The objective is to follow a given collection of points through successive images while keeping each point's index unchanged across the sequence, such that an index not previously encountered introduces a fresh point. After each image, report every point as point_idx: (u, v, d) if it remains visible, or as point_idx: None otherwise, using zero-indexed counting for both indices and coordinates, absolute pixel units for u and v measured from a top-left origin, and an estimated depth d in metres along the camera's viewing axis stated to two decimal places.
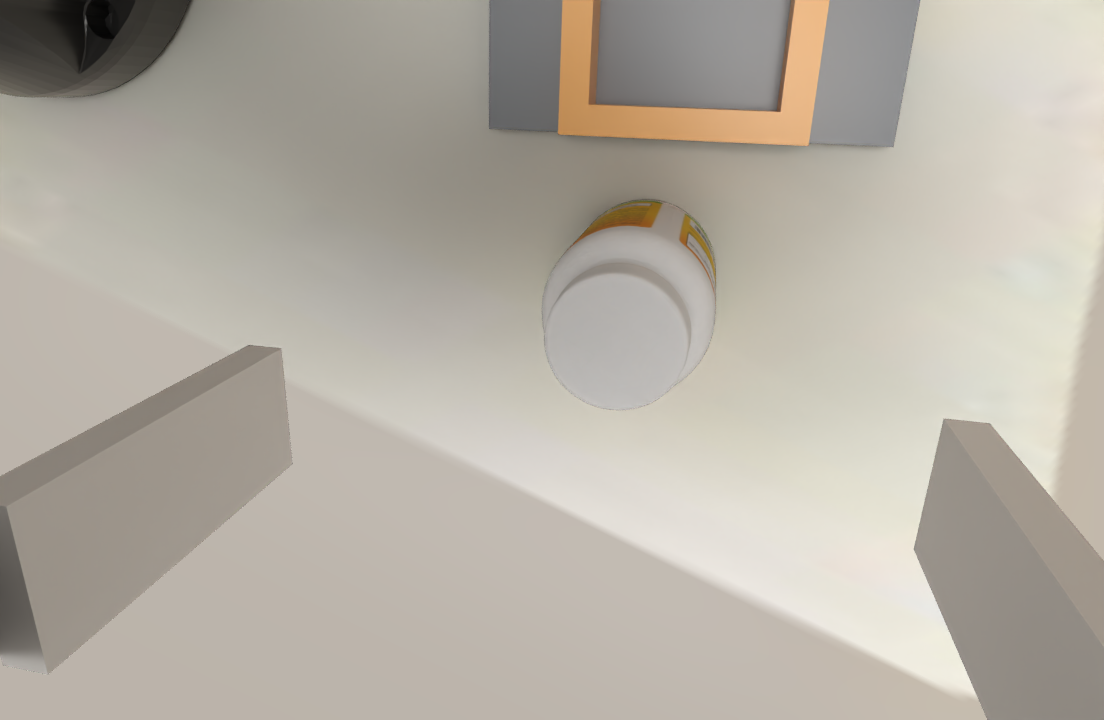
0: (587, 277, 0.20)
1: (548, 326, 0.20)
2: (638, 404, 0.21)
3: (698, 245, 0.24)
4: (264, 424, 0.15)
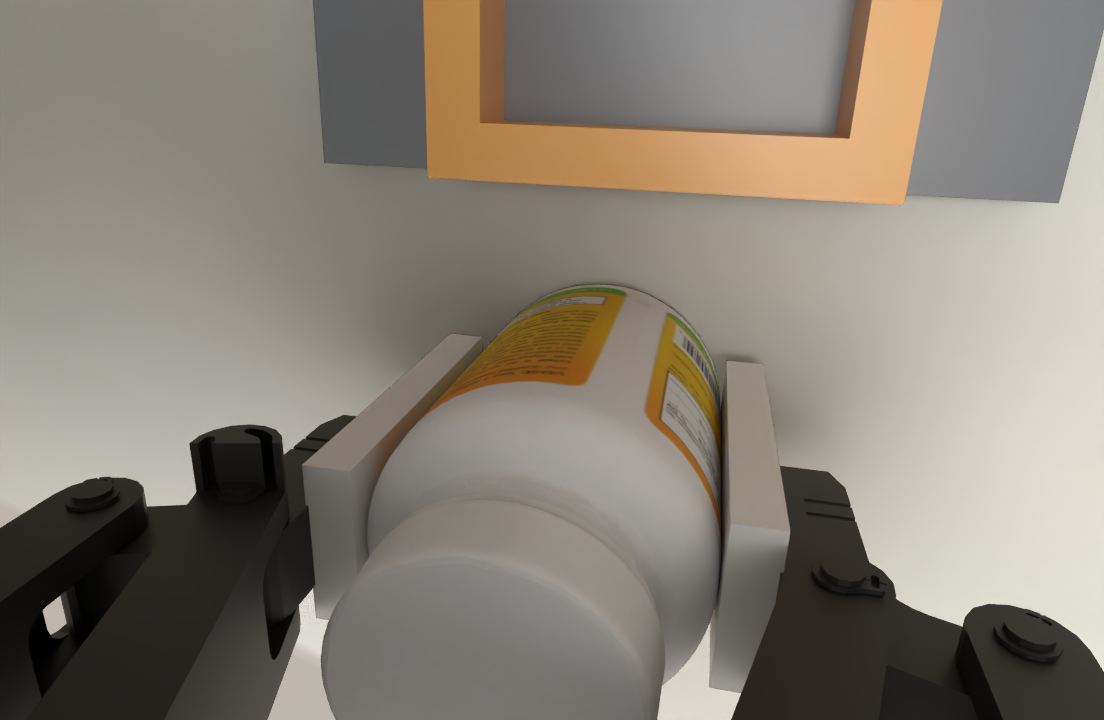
0: (406, 555, 0.08)
1: (326, 653, 0.09)
2: None
3: (687, 398, 0.12)
4: None
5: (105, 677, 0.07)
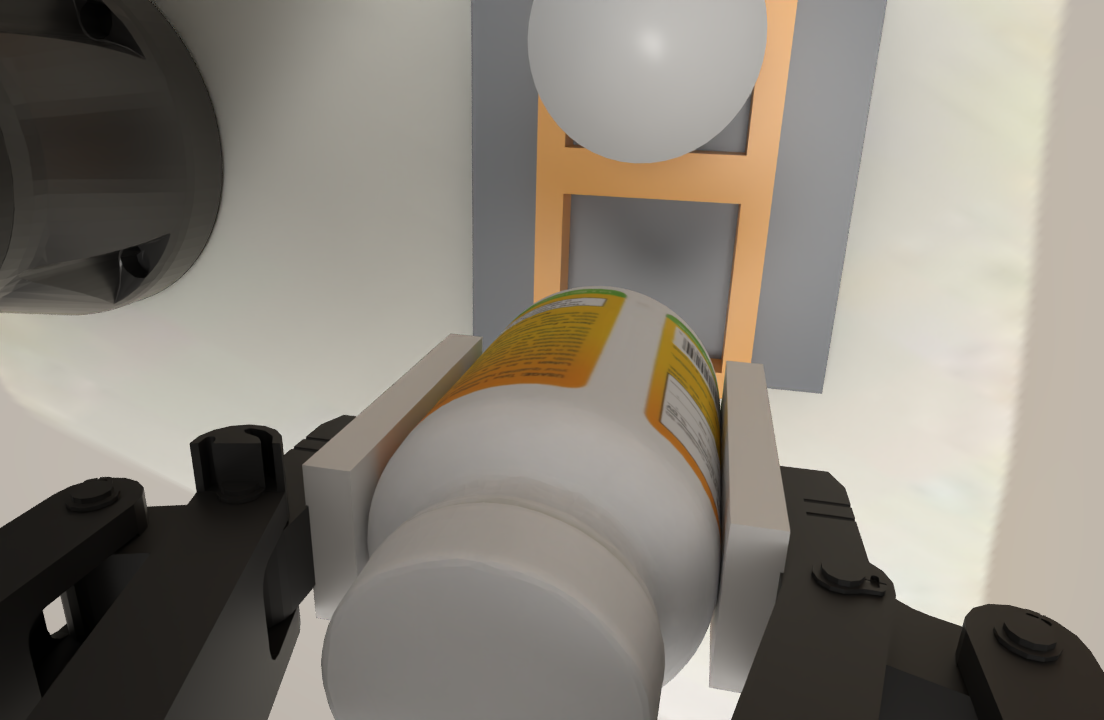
0: (406, 558, 0.08)
1: (327, 656, 0.09)
2: None
3: (687, 400, 0.12)
4: None
5: (105, 677, 0.07)
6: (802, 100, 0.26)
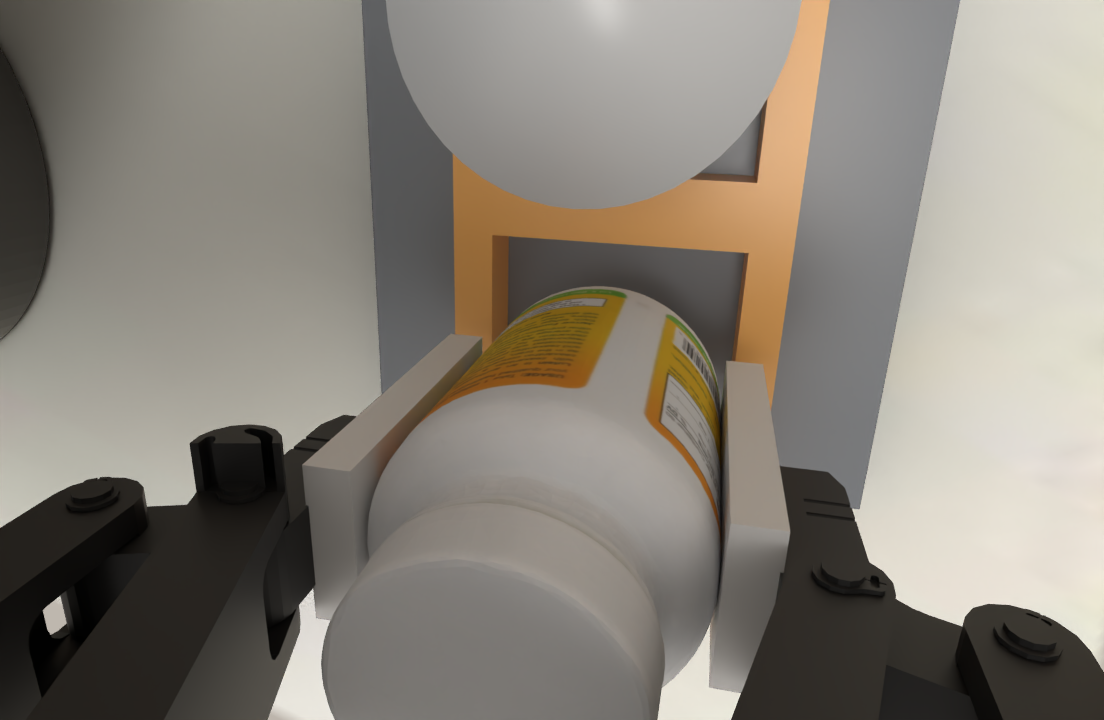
0: (406, 558, 0.08)
1: (326, 656, 0.09)
2: None
3: (687, 400, 0.12)
4: None
5: (105, 677, 0.07)
6: (838, 100, 0.17)
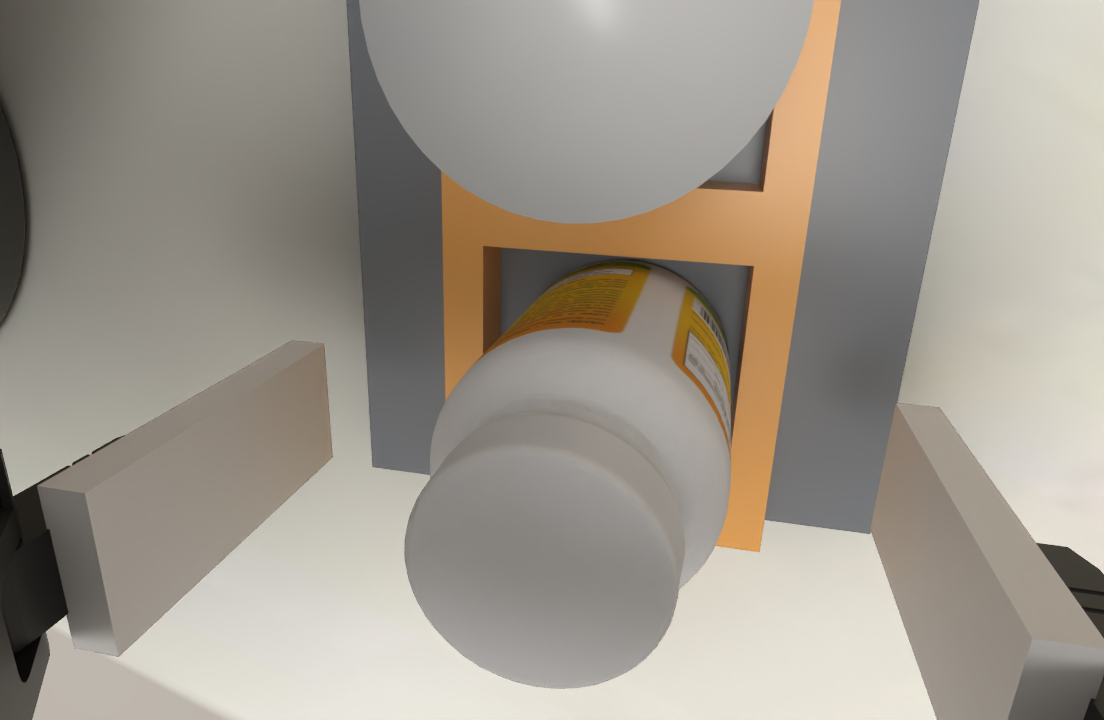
0: (483, 450, 0.10)
1: (409, 532, 0.11)
2: (578, 682, 0.11)
3: (704, 353, 0.14)
4: (308, 417, 0.16)
5: None
6: (849, 104, 0.16)
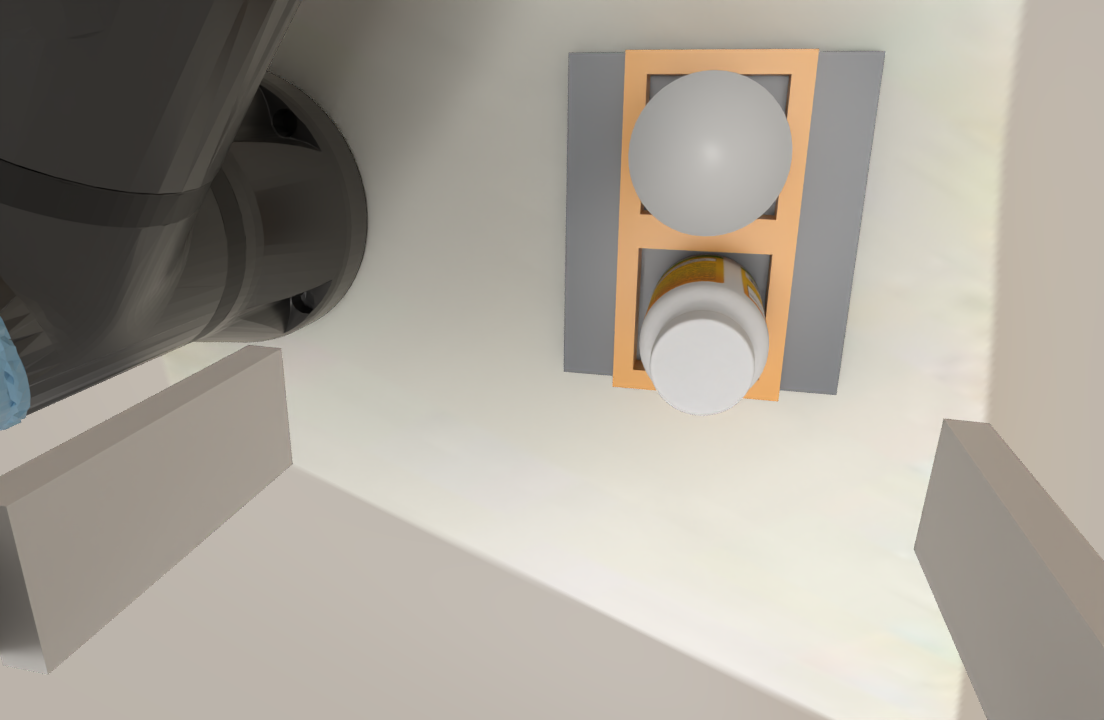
0: (684, 321, 0.28)
1: (654, 354, 0.29)
2: (715, 411, 0.29)
3: (754, 294, 0.33)
4: (264, 424, 0.15)
5: None
6: (816, 177, 0.34)
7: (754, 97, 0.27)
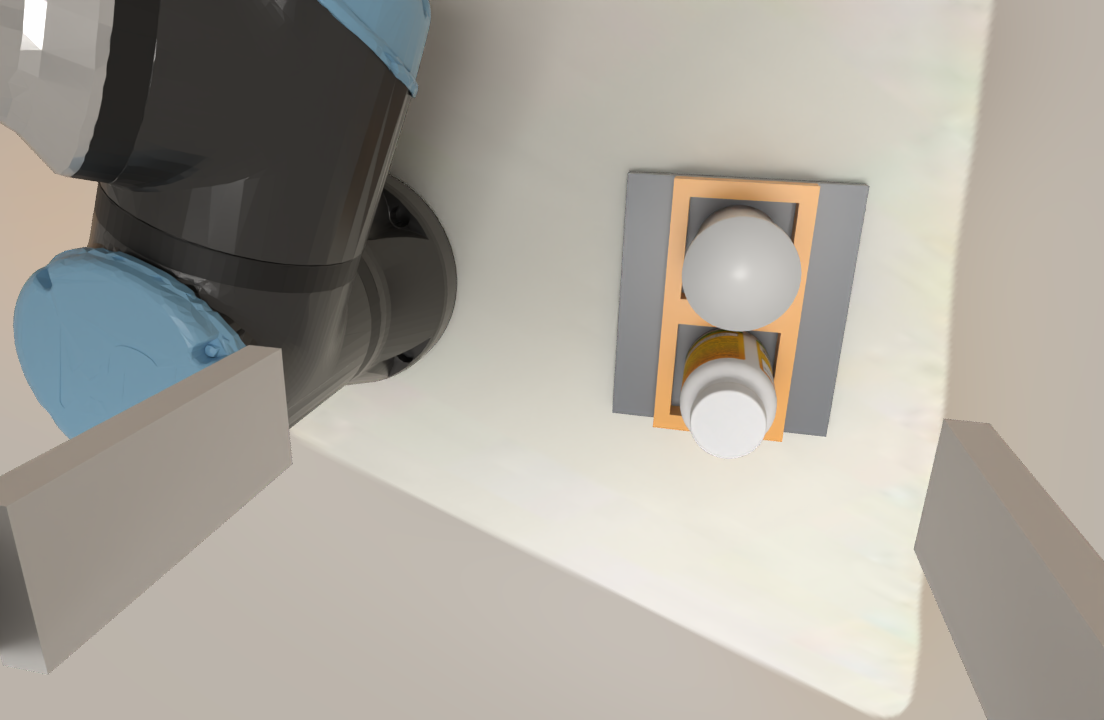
0: (717, 391, 0.39)
1: (693, 413, 0.40)
2: (736, 456, 0.40)
3: (767, 366, 0.43)
4: (264, 424, 0.15)
5: None
6: (815, 274, 0.45)
7: (775, 237, 0.38)
